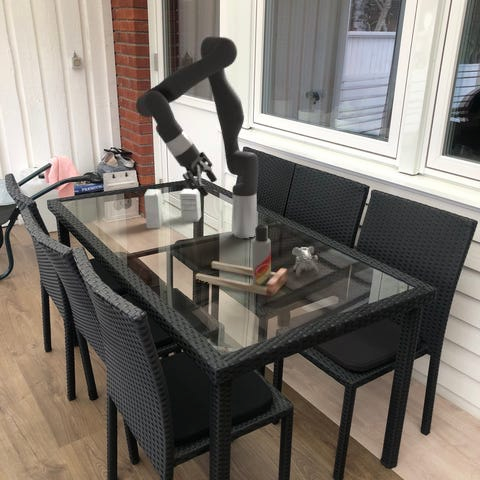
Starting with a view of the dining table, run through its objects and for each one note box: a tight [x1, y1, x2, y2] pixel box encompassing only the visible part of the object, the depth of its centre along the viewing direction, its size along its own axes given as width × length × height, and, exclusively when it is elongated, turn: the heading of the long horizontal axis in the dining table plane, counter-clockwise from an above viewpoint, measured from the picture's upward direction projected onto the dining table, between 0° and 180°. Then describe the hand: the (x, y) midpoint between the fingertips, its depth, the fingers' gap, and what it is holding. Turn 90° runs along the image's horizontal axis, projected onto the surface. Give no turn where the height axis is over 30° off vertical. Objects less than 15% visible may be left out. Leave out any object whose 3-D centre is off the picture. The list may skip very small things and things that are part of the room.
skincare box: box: [143, 188, 164, 229], centre depth 212 cm, size 8×6×15 cm
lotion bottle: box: [251, 224, 272, 287], centre depth 157 cm, size 6×6×20 cm
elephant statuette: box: [291, 246, 320, 276], centre depth 169 cm, size 9×12×8 cm
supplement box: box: [179, 188, 202, 223], centre depth 218 cm, size 7×7×13 cm
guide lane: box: [195, 260, 288, 297], centre depth 163 cm, size 12×27×4 cm, turn 64°
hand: (210, 188), depth 167 cm, fingers open, 8 cm apart
